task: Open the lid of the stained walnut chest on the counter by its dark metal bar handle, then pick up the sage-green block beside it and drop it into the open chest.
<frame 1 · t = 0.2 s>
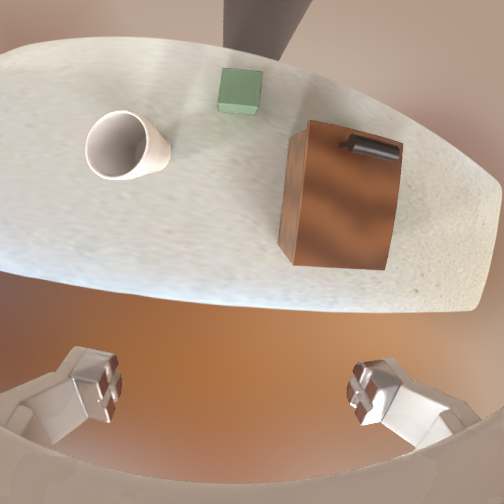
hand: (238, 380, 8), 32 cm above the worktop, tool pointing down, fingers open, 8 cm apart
lid: (361, 201, 29), point 12 cm above the worktop, hinge at 0.0°
white tapered cylinder: (154, 154, 36), on the worktop
chest: (325, 196, 40), on the worktop
block: (238, 97, 35), on the worktop
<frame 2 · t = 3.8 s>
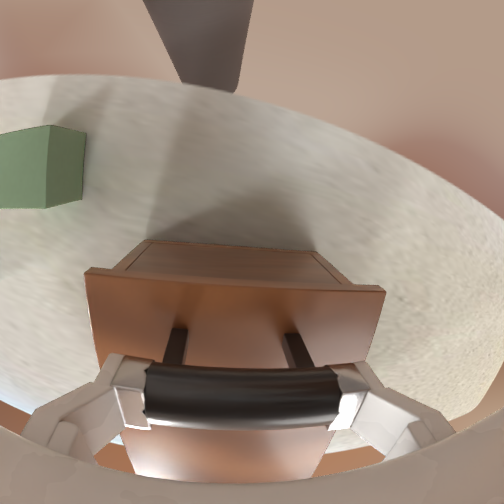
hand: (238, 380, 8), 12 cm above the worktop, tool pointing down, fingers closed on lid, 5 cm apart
lid: (230, 455, 11), point 11 cm above the worktop, hinge at 0.0°, touching gripper
chest: (224, 339, 22), on the worktop
block: (57, 167, 17), on the worktop
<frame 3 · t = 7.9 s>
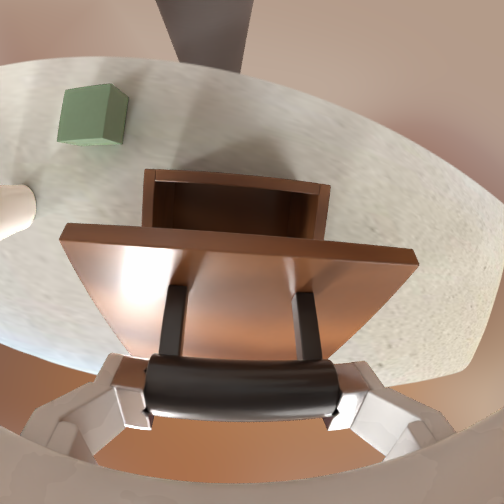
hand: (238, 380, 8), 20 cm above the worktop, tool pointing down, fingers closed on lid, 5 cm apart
lid: (229, 382, 13), point 16 cm above the worktop, hinge at 36.1°, touching gripper
white tapered cylinder: (24, 206, 24), on the worktop
chest: (227, 255, 28), on the worktop
block: (103, 121, 23), on the worktop
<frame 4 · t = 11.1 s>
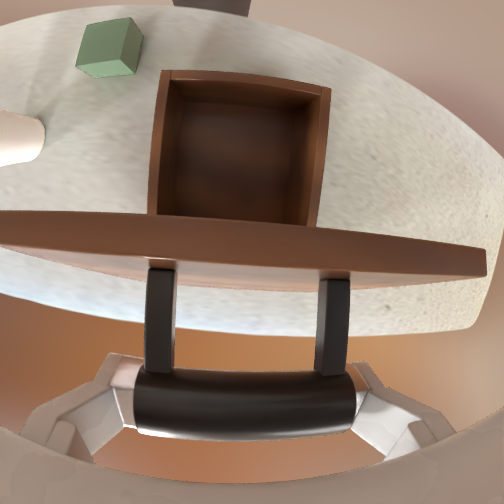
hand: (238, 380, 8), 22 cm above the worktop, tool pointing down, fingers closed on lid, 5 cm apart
lid: (233, 324, 13), point 18 cm above the worktop, hinge at 63.8°, touching gripper
white tapered cylinder: (32, 139, 24), on the worktop
chest: (232, 173, 28), on the worktop
block: (118, 56, 22), on the worktop
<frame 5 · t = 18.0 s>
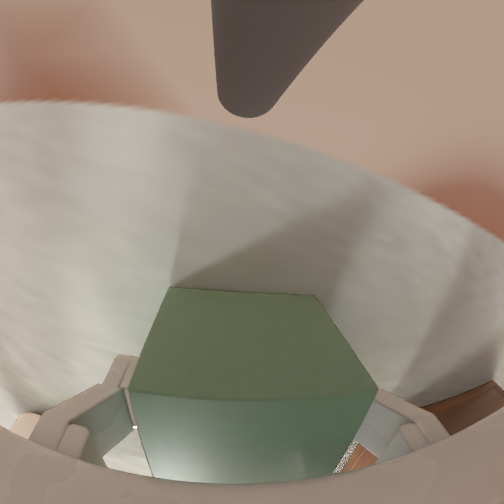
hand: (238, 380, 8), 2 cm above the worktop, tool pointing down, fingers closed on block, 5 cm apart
white tapered cylinder: (55, 435, 11), on the worktop
chest: (400, 464, 15), on the worktop
block: (237, 352, 10), on the worktop, touching gripper
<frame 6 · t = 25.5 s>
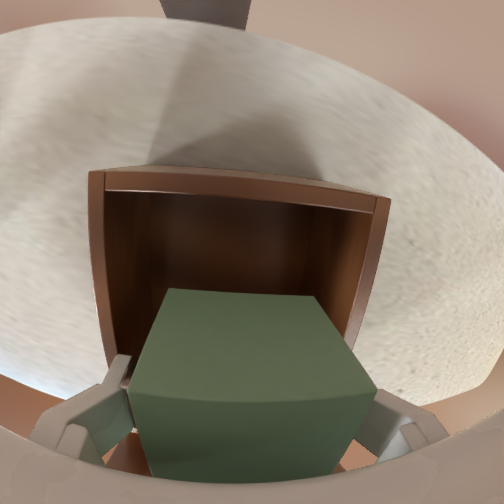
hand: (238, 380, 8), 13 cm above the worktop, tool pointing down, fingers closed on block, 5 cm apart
chest: (226, 277, 21), on the worktop
block: (237, 352, 10), point 11 cm above the worktop, touching gripper
when the fingers open (13 cm above the worktop, at t = 25.7 s): block drops 10 cm, resting on chest.
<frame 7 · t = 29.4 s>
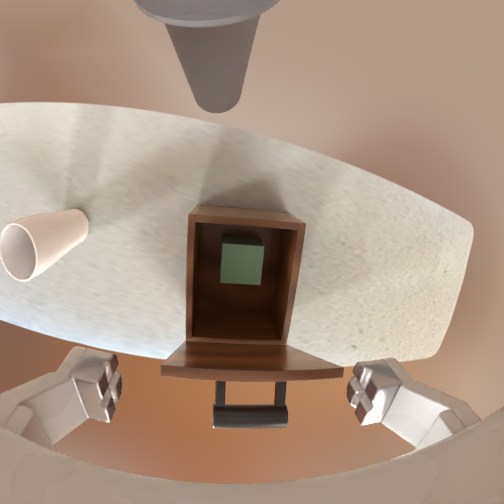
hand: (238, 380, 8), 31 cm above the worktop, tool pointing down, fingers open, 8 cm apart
lid: (242, 379, 25), point 18 cm above the worktop, hinge at 62.2°
white tapered cylinder: (76, 225, 36), on the worktop
chest: (238, 263, 40), on the worktop
block: (239, 253, 39), point 1 cm above the worktop, touching chest
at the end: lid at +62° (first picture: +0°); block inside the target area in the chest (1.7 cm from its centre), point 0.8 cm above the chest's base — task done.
